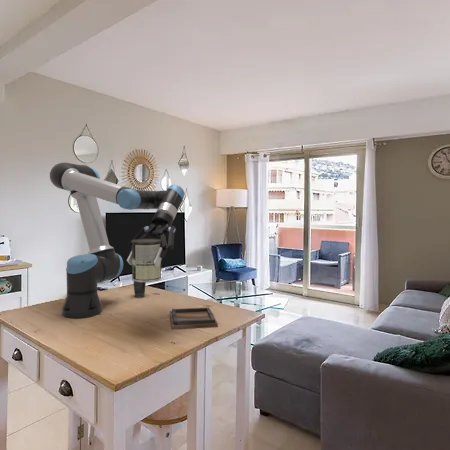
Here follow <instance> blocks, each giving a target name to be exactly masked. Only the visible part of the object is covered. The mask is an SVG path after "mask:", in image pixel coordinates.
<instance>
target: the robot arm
mask: <svg viewBox="0 0 450 450" xmlns="http://www.w3.org/2000/svg"><path fill="white" fill-rule="evenodd" d="M49 179H50V182H51V183H52V185H53V186H54V187H56V188H57V189H60V190H65V191H67V192H69V193H70V195H71V198H73V199H74V200H75V201H76V205H77V208H78V212H79V215H80V219H81V222H82V227H83V230H84V231H83V232H84V234H85V237H86V242H87V245H88V249H89V251H88V253H87V254H86V253H85V254H84V253H83V254H78V255H75V256H72V257H70V258H68V260H67V262H66V269H65V271H66V297H65V299H64V303H63V306H62V309H61V310H62V311H61V314H62V316H63V317H65V318H67V319H68V318H70V319H83V318H89V317H93V316H96V315H99V314H100V313H101V312H102V311H103V304H102V302H101V299H100V297H99V294H98V284H99V283H103V282H107V281H112V280H114V279H115V278H118V277H119V276H120V275H121V273H122V271H123V269H124V261H123V260H124V259H123V257H122V256H121V255H120V254H118V253H116V251H115V248H114V247H113V246H111V245H110V242H109V239H108V235H107V231H106V228H105V224H104V220H103V216H102V213H101V209H100V205H99V202H98V199H101V200H103V201H106V202H109V203H111V204H116V205H118V206H119V207H120V208H122V209H124V210H130V211H132V210H156V211H155V213H154V215H153V217H152V219H151V223H150V224H149V225H148V226H147V225H145V224H143V225H141V227H140V229H139V230H138V232H137V233H136V234H134V236H133V237H132V239H131V240H130V241H129V242H128V245H129V247H130V250H129V252H128V257H127V259H126V261H127V263H128V264H129V265H130V266H132V242H131V241H132V240H135V239H154V238H160V240H161V247H160V249H159V251H158V253H157V255H156V258H155V260H154V262H153V263H154V264H155V266H156V267H158V266H159V264H160V262H161V263H162V259H164V258H165V257H166V254H167V252H168V251H170V252H172V251H174V244H175V235H176V233H177V229H176V227H175V226H174V225H173V223H174V220H175V218H176V215H177V213H178V211H179V209H180V206H181V205H182V202H183V201H184V197H185V193H186V192H185V190H184V189H183V187H181V186H180V185H178V184H171V185H169V186H168V188H166V189H165V190H145V189H143V190H141V189H134V188H130V187H126V186H124V185H121V184H117V183H115V182H111V181H108V180H104V179H102V178H101V176H100V174H99V172H98V171H97V170H96V169H95V168H94V167H93V166H89V165H85V164H77V163H71V162H59V163H57V164H55V165H53V167H51V169H50V172H49ZM167 233H168V239H167V238H166V237H167V235H166V234H167Z"/></svg>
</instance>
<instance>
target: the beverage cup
mask: <svg viewBox="0 0 450 450" xmlns="http://www.w3.org/2000/svg"><path fill="white" fill-rule="evenodd" d="M146 283H147V282H135V281H133V290H134V292H133V293H134V297H135V298H144V297H145V293H146Z"/></svg>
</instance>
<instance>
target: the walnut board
mask: <svg viewBox="0 0 450 450" xmlns="http://www.w3.org/2000/svg"><path fill="white" fill-rule="evenodd" d="M169 316H170V325H171V330H180V329H181V330H182V329H183V330H185V329H201V328H203V329H204V328H218V327H219V324H218V322H217V319H216V318H215V315H214V314H213V312H212V310H211V308H210V307H193V308H191V307H190V308H189V307H188V308H172V309H171V311H169Z"/></svg>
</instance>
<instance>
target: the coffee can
mask: <svg viewBox="0 0 450 450" xmlns="http://www.w3.org/2000/svg"><path fill="white" fill-rule="evenodd" d="M131 240H132V239H131ZM131 240H130V241H131ZM131 242H132V265H131V270H132V271H131V278H132V279H131V280H132V281H133V282H134V281H135V282H146V283H154V282H158V281H161V279H162V261H161V262H160V264H159V266H158V267H156V266H155V264H154V263H153V262H154V260H155V258H156V255H157V253H158V251H159V249H160V247H161V248H162V242H161V238H152V239H135V240H132V241H131Z"/></svg>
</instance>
